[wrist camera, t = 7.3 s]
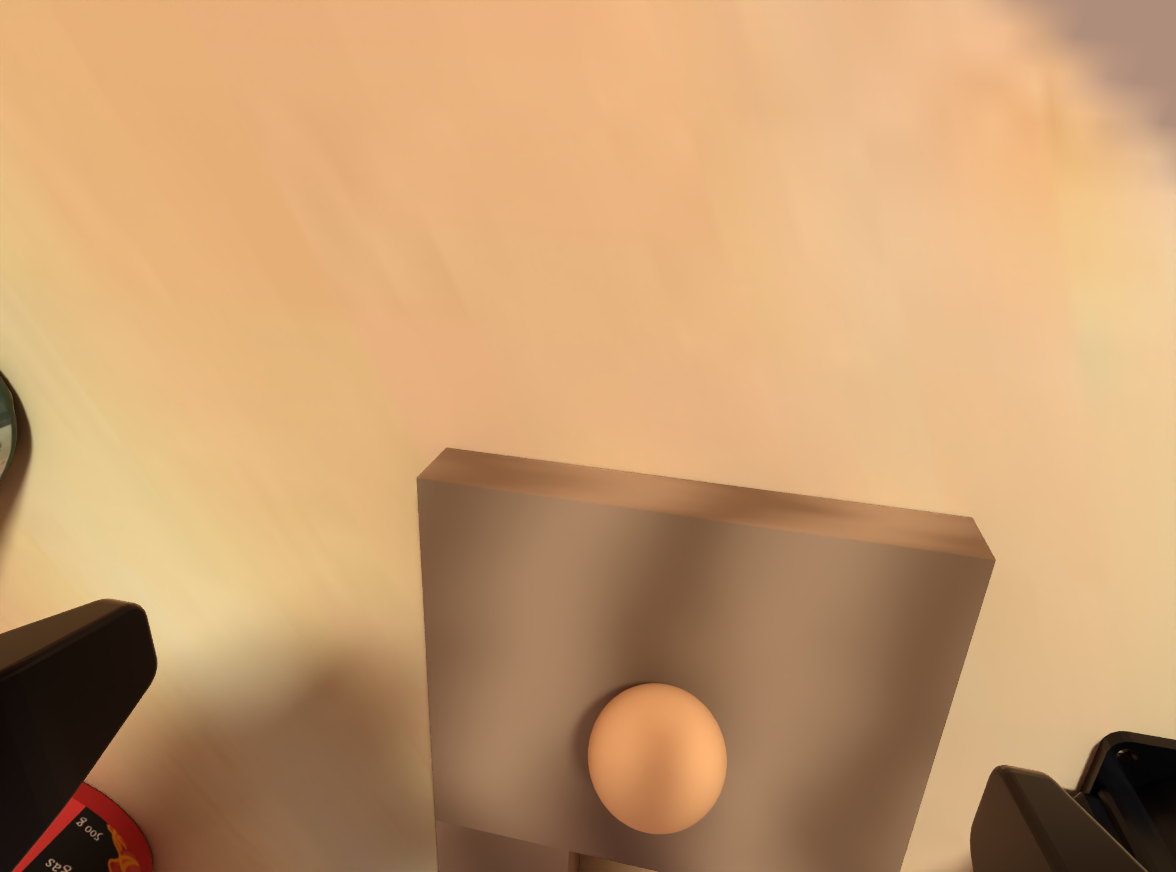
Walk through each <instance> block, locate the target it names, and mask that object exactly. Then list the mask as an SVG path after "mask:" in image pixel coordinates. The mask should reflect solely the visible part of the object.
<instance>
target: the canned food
mask: <svg viewBox="0 0 1176 872" xmlns="http://www.w3.org/2000/svg"><path fill="white" fill-rule="evenodd" d="M152 864H153V862H152V857H151V852H150V848H149V846H148V844H147V841H146V839H145V837H144V835H143V834H142V832H141V831H140V829H139V828H138V826H137V825H136V824H135V822H134V821H133V820H132V819H131V818H130V817H129V815H128V814H127V813H126V812H125V811H124V810H123V809H121V808H120V807H119V806H118V805H117V804H116V803H115V802H114V801H112V800H111V799H110V798H108V797H107V796H106V795H104V794H103V793H102V792H100V791H98V790H97V789H95V788H93V787H91V786H90V785H88V784H86V783H84V782H83V783H82V784H81V785H80V787H79V788H78V790H77V791H76V792H75V794H74V795H73V797H72V798H71V799H70V801H69V802H68V803H67V805H66V806H65V808H64V809H63V810H62V811H61V813H60V814H59V815H58V816H57V818H56V819H55V820H54V822H53V823H52V824H51V825H50V827H49V828H48V829H47V830H46V832H45V833H44V834H43V835H42V836H41V838H40V839H39V840H38V841H37V842H36V844H35V845H34V846H33V847H32V849H31V850H30V851H29V852H28V853H27V855H26V856H25V857H24V858H23V859H22V861H21V862H20V863H19V864H18V866H17V867H16V868H15V869H14V870H13V872H152Z"/></svg>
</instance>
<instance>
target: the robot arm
mask: <svg viewBox="0 0 1176 872" xmlns="http://www.w3.org/2000/svg"><path fill="white" fill-rule="evenodd" d="M156 670H157V656H156V652H155V648H154V644H153V639H152V635H151V631H150V627H149V622H148V618H147V615H146V612H145V610H144V609H143V608H142V607H141V606H140V605H138V604H136V603H131V602H126V601H120V600H115V599H101V600H97V601H94V602H91V603H88V604H86V605H83V606H80V607H77V608H74V609H71V610H68V611H65V612H62V613H60V614H57V615H54V616H51V617H48V618H45V619H42V620H39V621H36V622H34V623H31V624H28V625H25V626H22V627H19V628H16V629H13V630H10V631H8V632H5V633H2V634H0V872H13V870H14V869H15V868H16V867H17V866H18V864H19V863H20V862H21V861H22V859H23V858H24V857H25V856H26V855H27V853H28V852H29V851H30V850H31V849H32V847H33V846H34V845H35V844H36V842H37V841H38V840H39V839H40V838H41V836H42V835H43V834H44V833H45V832H46V830H47V829H48V828H49V827H50V825H51V824H52V823H53V822H54V820H55V819H56V818H57V816H58V815H59V814H60V813H61V811H62V810H63V809H64V808H65V806H66V805H67V803H68V802H69V801H70V799H71V798H72V797H73V795H74V794H75V792H76V791H77V790H78V788H79V787H80V785H81V784H82V783H83V781H84V780H85V778H86V777H87V775H88V774H89V773H90V771H91V770H92V768H93V767H94V765H95V764H96V762H97V761H98V760H99V758H100V757H101V755H102V754H103V752H104V751H105V750H106V748H107V747H108V745H109V744H110V742H111V741H112V739H113V738H114V737H115V735H116V734H117V732H118V731H119V729H120V728H121V727H122V725H123V724H124V722H125V721H126V719H127V718H128V716H129V715H130V714H131V712H132V711H133V709H134V708H135V706H136V705H137V703H138V702H139V701H140V699H141V698H142V696H143V695H144V693H145V692H146V691H147V689H148V688H149V686H150V685H151V683H152V681H153V679H154V677H155V674H156ZM1123 749H1130V750H1129V751H1127V752H1124V753H1118V752H1119V751H1120V750H1123ZM970 850H971V858H972V865H973V871H974V872H1176V740H1173V739H1167V738H1161V737H1156V736H1150V735H1144V734H1139V733H1133V732H1127V731H1118V732H1113V733H1110V734H1109V735H1107V736H1105V737H1104V738H1103V740H1102V741H1101V743H1100V745H1099V748H1098V750H1097V752H1096V755H1095V757H1094V759H1093V762H1092V764H1091V766H1090V769H1089V771H1088V774H1087V776H1086V778H1085V781H1084V783H1083V785H1082V788H1081V790H1080V792H1079V793H1078V794H1077V795H1076V796H1074V797H1073V798H1072V797H1071V796H1070V795H1069V794H1068V793H1067V792H1066V791H1065V790H1064V789H1063V788H1062V787H1061V786H1060V785H1059V784H1058V783H1057V782H1056V781H1054V780H1053V779H1052V778H1051V777H1050V776H1048V775H1046V774H1045V773H1042V772H1039V771H1034V770H1029V769H1024V768H1018V767H1013V766H1008V765H1001V766H997V767H996V768H995V769H994V770H993V771H992V773H991V775H990V776H989V779H988V782H987V785H986V788H985V790H984V793H983V796H982V799H981V801H980V804H979V807H978V810H977V812H976V815H975V818H974V821H973V824H972V827H971V834H970Z"/></svg>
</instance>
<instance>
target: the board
mask: <svg viewBox="0 0 1176 872" xmlns="http://www.w3.org/2000/svg"><path fill="white" fill-rule="evenodd" d="M417 494H418V512H419V531H420V549H421V567H422V586H423V604H424V623H425V641H426V659H427V678H428V696H429V715H430V733H431V752H432V770H433V788H434V807H435V825H436V844H437V862H438V872H579V855H580V854H585V855H589V856H593V857H598V858H602V859H606V860H611V861H615V862H619V863H624V864H628V865H632V866H637V867H641V868H645V869H650V870H654V871H658V872H900V869H901V866H902V863H903V859H904V856H905V853H906V850H907V846H908V843H909V840H910V837H911V833H912V830H913V827H914V824H915V820H916V817H917V814H918V811H919V807H920V804H921V801H922V798H923V794H924V791H925V788H926V785H927V781H928V778H929V775H930V772H931V768H932V765H933V762H934V759H935V755H936V752H937V749H938V746H939V742H940V739H941V736H942V733H943V729H944V726H945V723H946V720H947V716H948V713H949V710H950V707H951V703H952V700H953V697H954V694H955V690H956V687H957V684H958V681H959V677H960V674H961V671H962V668H963V665H964V661H965V658H966V655H967V652H968V648H969V645H970V642H971V639H972V635H973V632H974V629H975V626H976V622H977V619H978V616H979V613H980V609H981V606H982V603H983V600H984V596H985V593H986V590H987V587H988V583H989V580H990V577H991V574H992V570H993V567H994V564H995V561H996V560H995V558H994V556H993V554H992V552H991V551H990V549H989V547H988V545H987V543H986V542H985V540H984V538H983V536H982V534H981V532H980V531H979V529H978V527H977V525H976V523H975V522H974V520H973V518H970V517H963V516H955V515H947V514H940V513H932V512H925V511H917V510H910V509H902V508H895V507H887V506H880V505H872V504H865V503H857V502H850V501H842V500H835V499H827V498H820V497H812V496H805V495H797V494H790V493H782V492H775V491H767V490H760V489H752V488H745V487H737V486H730V485H722V484H715V483H707V482H700V481H692V480H685V479H677V478H670V477H662V476H654V475H647V474H639V473H632V472H624V471H617V470H609V469H602V468H594V467H587V466H579V465H572V464H564V463H557V462H549V461H542V460H534V459H527V458H519V457H512V456H504V455H497V454H489V453H482V452H474V451H467V450H459V449H452V448H446V449H445V450H444V451H443V452H442V453H441V454H440V455H439V456H438V457H437V458H436V459H435V460H434V461H433V462H432V463H431V464H430V465H429V466H428V467H427V468H426V469H425V470H424V471H423V472H422V473H421V474H420V475H419V476H418V477H417ZM648 683H661V684H668V685H672V686H675V687H678V688H681V689H683V690H685V691H687V692H689V693H690V694H692V695H693V696H695V697H696V698H697V699H698V700H700V701H701V702H702V703H703V704H704V705H705V706H706V707H707V708H708V710H709V711H710V712H711V714H712V715H713V717H714V718H715V720H716V721H717V723H718V725H719V728H720V730H721V732H722V735H723V738H724V742H725V747H726V754H727V769H726V777H725V781H724V785H723V788H722V791H721V793H720V795H719V797H718V799H717V801H716V803H715V804H714V806H713V807H712V808H711V810H710V811H709V812H708V813H707V814H706V815H705V816H704V817H703V818H702V819H701V820H699V821H698V822H697V823H695V824H694V825H692V826H690V827H689V828H686V829H684V830H682V831H679V832H675V833H670V834H650V833H645V832H641V831H638V830H635V829H633V828H631V827H629V826H627V825H626V824H624V823H622V822H621V821H620V820H618V819H617V818H616V817H615V816H613V815H612V814H611V812H610V811H609V810H608V809H607V808H606V807H605V806H604V804H603V803H602V801H601V800H600V798H599V796H598V794H597V792H596V791H595V788H594V786H593V783H592V780H591V777H590V772H589V766H588V746H589V740H590V735H591V732H592V729H593V727H594V724H595V722H596V720H597V718H598V716H599V715H600V713H601V711H602V710H603V709H604V708H605V706H606V705H607V704H608V703H609V702H610V701H611V700H612V699H613V698H614V697H616V696H617V695H619V694H620V693H622V692H623V691H625V690H627V689H629V688H632V687H635V686H638V685H642V684H648Z"/></svg>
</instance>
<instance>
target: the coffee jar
mask: <svg viewBox="0 0 1176 872" xmlns="http://www.w3.org/2000/svg"><path fill="white" fill-rule="evenodd" d="M16 443H17V422H16V415H15V411H14V405H13V398H12V394H11V392H10V390H9V388H8V387H7V385H6V384H5V382H4V380H3V379H2V377H1V376H0V481H1V480H2V479H3V478H4V476H5V474H6V472H7V470H8V468H9V466H10V464H11V462H12V460H13V457H14V453H15V448H16Z"/></svg>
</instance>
